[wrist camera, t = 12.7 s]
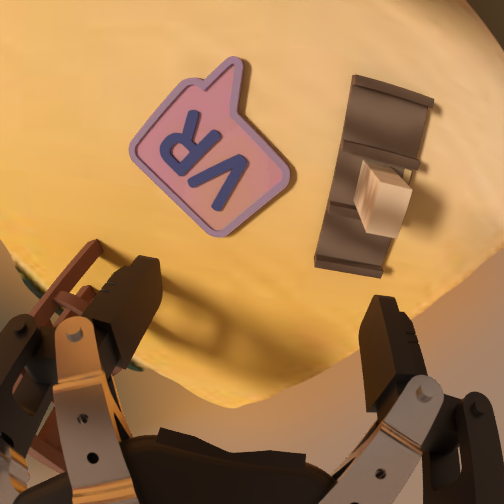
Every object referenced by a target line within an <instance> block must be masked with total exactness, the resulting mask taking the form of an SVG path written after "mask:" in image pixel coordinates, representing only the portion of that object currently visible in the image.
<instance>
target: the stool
mask: <svg viewBox="0 0 504 504" xmlns="http://www.w3.org/2000/svg"><path fill="white" fill-rule="evenodd" d="M102 252H103V249H102V247H101V245H100V243H99V242H98V240H97V239H95V240H92V241H90V242H88V243H87V244H86V245H85V246H84V247H83V248H82V249H81V251H80V252H79V253H78V254H77V255H76V256H75V257H74V259H73V260H72V261H71V262H70V263H69V264H68V266H67V267H66V268H65V269H64V270H63V272H62V273H61V274H60V275H59V276H58V278H57V279H56V280H55V281H54V283H53V284H52V285H51V286H50V288H49V289H48V290H47V291H46V293H45V294H44V295H43V297H42V298H41V299H40V300H39V302H38V303H37V305H36V306H35V307H34V308H33V310H32V311H31V312H30V314H29V315H31V316H33V317H34V318H35V319H36V322H37V324H38V326H42V327H58V325H59V324H60V323H61V322H62V321H64V320H65V319H68V318H70V317H75V316H81V315H82V313H83V312H84V311H85V309H86V308H87V307H88V305H89V304H90V302H91V301H92V299H93V298H94V297H95V296H96V294H95V292H94V291H93V289H92V288H91V286H90V285H87V286H83V287H82V288H81V289H80V290H79V291H78V293H77V294H76V295H74V294H71V293H69V292H70V291H71V290H72V289H73V287H74V286H75V285H76V284H77V282H78V281H79V280H80V279H81V277H82V276H83V275H84V274H85V272H86V271H87V270H88V269H89V268H90V266H91V265H92V264H93V263H94V262H95V260H96V259H97V258H98V257H99V256H100V254H101V253H102ZM59 306H62V307H64V308H66V309H65V310H64V311H63V313H62V314H61V315H60V317H59V318H58V319H57V321H56V322H55V324H54V325H52V323H51V321H50V318H51V316H52V315H53V313H54V312H55V311H56V310H57V308H58V307H59ZM121 370H122V368H120V367H117V366H115V368H114V370H113V372H112V375H113V376H114V375H115V374H117V373H118V372H120V371H121ZM25 372H26V369H25V368H24V369H23V371H22V372H21V374H20V376H19V378H18V379H17V381H16V383H15V384H14V386H13V391H12V393H14V391H15V390H16V388H17V386H18V384H19V383H20V381H21V379H22V377H23V376H24V374H25ZM51 403H52V404H54V397H53V399H52V401H51ZM27 454H29V455H30V456H32V457H33V458H35V459H36V460H38V461H39V462H41V463H43V464H44V465H46V466H48V467H49V468H51V469H53V470H55V471H56V472H59V473H60V474H61V473H63V472H65V471H67V467H66V463H65V459H64V455H63V450H62V445H61V441H60V435H59V430H58V424H57V418H56V412H55V406H54V408H53V410H52V411H51V413H50V415H49V417H48V418H47V420H46V422H45V424H44V425H43V427H42V429H41V431H40V432H39V434H38V436H37V435H35V437H34V439H33V441H32V444H31V446H30V448H29V451H28V453H27Z"/></svg>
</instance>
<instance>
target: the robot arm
mask: <svg viewBox="0 0 504 504" xmlns="http://www.w3.org/2000/svg"><path fill="white" fill-rule="evenodd" d="M162 293H163V291H162V281H161V270H160V262H159V259H157V258H152V257H147V256H141V255H139V256H137V258H136V259H135V260H134V261H133V263H132V264H131V265H130V266H124V267H122V268H121V269H119V270H117V271H116V272H114V273H113V275H112V276H111V277H110V278H109V280H108V281H107V283H105V285H104V286H103V287H102V288H101V290H100V291H99V292H98V294H97V295H96V296H95V297H94V299H93V300H92V301H91V303H90V304H89V305H88V307H87V308H86V309H85V311H84V312H83V313H82V315H81V316H75V317H70V318H68V319H65V320H64V321H62V322H61V323H60V324H59V325H58V327H42V326H38V324H37V322H36V319H35V318H34V317H33V316H31V315H28V314H21V315H18V316H16V317H14V318H12V319H11V320H10V321H9V322H8V323H7V325H6V326H5V327H4V329H3V330H2V331H1V333H0V504H392V503H393V502H394V500H395V499H396V497H397V496H398V494H399V493H400V491H401V490H402V488H403V487H404V485H405V484H406V482H407V480H408V479H409V477H410V476H411V474H412V472H413V471H414V469H415V467H416V465H417V464H418V462H419V460H420V458H421V456H422V468H423V504H504V462H503V456H502V450H501V445H500V440H499V434H498V430H497V425H496V421H495V416H494V413H493V408H492V405H491V403H490V401H489V400H488V398H487V397H486V396H485V395H483V394H481V393H479V392H470V393H469V394H467V395H466V396H465V398H463V399H458V398H455V397H452V396H449V395H446V394H444V393H443V390H442V388H441V386H440V384H439V383H438V382H437V381H436V380H435V379H433V378H431V377H429V376H428V374H427V371H426V367H425V363H424V359H423V356H422V353H421V349H420V346H419V344H418V339H417V336H416V335H415V329H414V326H413V323H412V321H411V320H410V319H409V317H408V316H407V315H406V314H405V312H399V309H398V305H397V302H396V299H395V298H394V297H390V296H382V295H374V296H373V298H372V300H371V302H370V305H369V307H368V309H367V312H366V314H365V316H364V318H363V321H362V323H361V326H360V329H359V346H360V354H361V362H362V371H363V379H364V389H365V400H366V411H367V412H377V416H378V419H377V420H376V421H375V422H374V424H373V425H372V427H371V428H370V429H369V431H368V432H367V433H366V434H365V436H364V437H363V438H362V440H361V441H360V442H359V443H358V445H357V446H356V447H355V448H354V450H353V451H352V452H351V453H350V454H349V456H348V457H347V458H346V459H345V460H344V461H343V462H342V463H341V464H340V465H339V467H337V468H336V469H335V470H334V472H333V473H332V474H331V475H329V474H327V473H326V472H325V471H323V470H322V469H320V468H318V467H316V466H314V465H312V464H309V463H306V462H305V460H306V454H301V453H290V452H280V451H272V450H268V451H256V452H241V453H231V452H227V451H224V450H222V449H220V448H218V447H216V446H214V445H211V444H209V443H207V442H205V441H203V440H201V439H199V438H197V437H195V436H191V435H187V434H183V433H179V432H175V431H172V430H168V429H165V428H160V430H159V433H158V435H144V436H137V437H133V436H132V433H131V431H130V429H129V426H128V424H127V422H126V419H125V416H124V413H123V410H122V407H121V404H120V400H119V397H118V393H117V390H116V386H115V382H114V379H113V375H112V372H113V370H114V368H115V366H117V367H120V368H123V369H126V368H127V366H128V364H129V362H130V360H131V358H132V357H133V355H134V353H135V351H136V349H137V347H138V345H139V343H140V341H141V339H142V337H143V336H144V334H145V332H146V330H147V328H148V326H149V324H150V322H151V321H152V319H153V317H154V315H155V313H156V311H157V310H158V308H159V306H160V303H161V300H162ZM24 368H25V369H26V372H25V374H24V376H23V377H22V379H21V381H20V383H19V384H18V386H17V388H16V390H15V391H14V393H12V391H13V386H14V384H15V383H16V381H17V379H18V377H19V376H20V374H21V372H22V371H23V369H24ZM53 397H54V405H55V412H56V418H57V424H58V430H59V435H60V441H61V445H62V450H63V455H64V459H65V463H66V467H67V471H65V472H63V473H61V474H59V475H57V476H55V477H53V478H50V479H48V480H46V481H44V482H42V483H40V484H37V485H35V486H33V487H30V488H28V489H27V484H26V483H27V482H28V481H29V480H30V474H29V472H28V466H27V463H26V460H25V458H26V455H27V453H28V451H29V448H30V446H31V444H32V441H33V439H34V437H35V434H36V432H37V430H38V428H39V426H40V423H41V421H42V419H43V417H44V415H45V413H46V410H47V409H48V407H49V405H50V403H51V401H52V399H53ZM458 447H460V454H461V464H462V470H461V474H460V464H459V455H458Z"/></svg>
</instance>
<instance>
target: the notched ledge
mask: <svg viewBox="0 0 504 504" xmlns="http://www.w3.org/2000/svg"><path fill="white" fill-rule="evenodd" d="M433 104H434V99H433V98H430V97H427V96H424V95H422V94H419V93H416V92H413V91H410V90H407V89H404V88H401V87H398V86H395V85H392V84H388V83H385V82H382V81H378V80H375V79H371V78H367V77H364V76H360V75H352V82H351V88H350V94H349V100H348V105H347V111H346V116H345V122H344V127H343V132H342V138H341V143H340V148H339V153H338V157H337V162H336V167H335V172H334V176H333V181H332V185H331V190H330V194H329V199H328V203H327V207H326V212H325V216H324V220H323V224H322V228H321V232H320V236H319V240H318V244H317V248H316V252H315V256H314V267H316V268H322V269H328V270H333V271H339V272H345V273H351V274H357V275H363V276H368V277H374V278H380V279H381V277H382V274H383V269H382V267H381V265H382V263H383V260H384V258H385V255H386V252H387V250H388V247H389V244H390V241H391V239H392V238H391V237H386V236H381V235H376V234H371V233H366V231H365V228H364V226H363V223H362V220H361V218H360V215H359V213H358V211H357V208H356V206H355V203H354V201H353V200H354V196H355V192H356V188H357V184H358V179H359V175H360V171H361V166H362V162H363V160H367V161H372V162H376V163H380V164H384V165H388V166H390V167H391V168H392V169H393V170H394V171H395V172H396V173H397V174H398V175H399V176H400V177H401V178H402V179H403V180H404V181H405V182H406V183H407V184H408V185H409V183H410V179H411V176H412V172H413V169H415V170H418V168H419V164H420V161H419V160H418V159H416V157H417V153H418V149H419V145H420V141H421V137H422V133H423V128H424V124H425V119H426V114H427V109H428V107H429V108H433Z"/></svg>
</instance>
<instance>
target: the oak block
mask: <svg viewBox="0 0 504 504" xmlns="http://www.w3.org/2000/svg"><path fill="white" fill-rule="evenodd" d="M412 191H413V190H412V189H411V188H410V186H409V185H408V184H407V183H406V182H405V181H404V180H403V179H402V178H401V177H400V176H399V175H398V174H397V173H396V172H395V171H394V170H393V169H392V168H391V167H390V166H388V165H384V164H380V163H376V162H372V161H367V160H363V162H362V166H361V171H360V175H359V179H358V184H357V188H356V192H355V196H354V200H353V201H354V203H355V206H356V208H357V211H358V213H359V215H360V218H361V220H362V223H363V226H364V228H365V231H366V233H371V234H376V235H381V236H386V237H391V238H396V239H397V237H398V235H399V232H400V229H401V226H402V223H403V220H404V217H405V214H406V210H407V207H408V204H409V201H410V197H411V194H412Z"/></svg>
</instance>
